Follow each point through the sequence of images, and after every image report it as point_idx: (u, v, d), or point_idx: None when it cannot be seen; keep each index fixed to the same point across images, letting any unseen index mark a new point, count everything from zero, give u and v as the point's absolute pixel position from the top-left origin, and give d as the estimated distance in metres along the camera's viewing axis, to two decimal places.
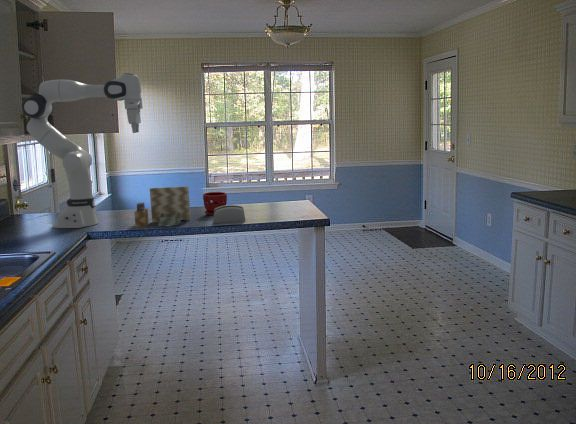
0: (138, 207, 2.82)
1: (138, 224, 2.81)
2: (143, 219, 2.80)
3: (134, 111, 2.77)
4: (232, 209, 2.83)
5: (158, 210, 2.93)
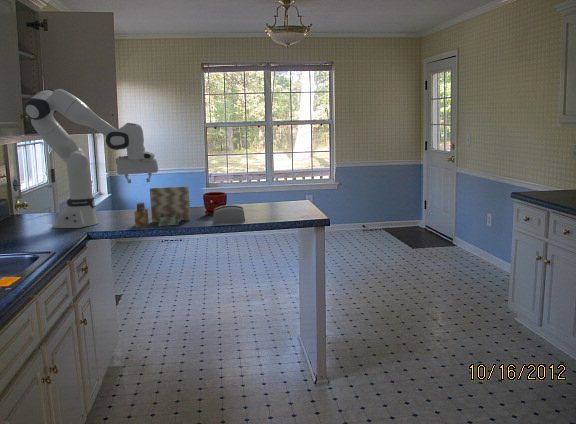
0: (138, 207, 2.82)
1: (138, 224, 2.81)
2: (143, 219, 2.80)
3: None
4: (232, 209, 2.83)
5: (158, 210, 2.93)
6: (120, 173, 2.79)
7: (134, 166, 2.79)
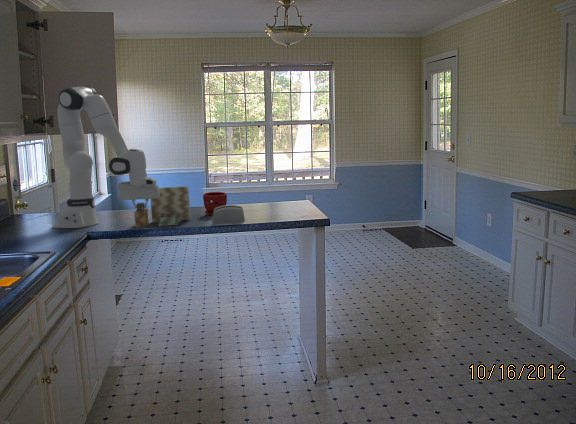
0: (138, 207, 2.82)
1: (138, 224, 2.81)
2: (143, 219, 2.80)
3: (158, 186, 2.84)
4: (231, 209, 2.83)
5: (158, 210, 2.93)
6: (122, 198, 2.81)
7: (136, 191, 2.81)
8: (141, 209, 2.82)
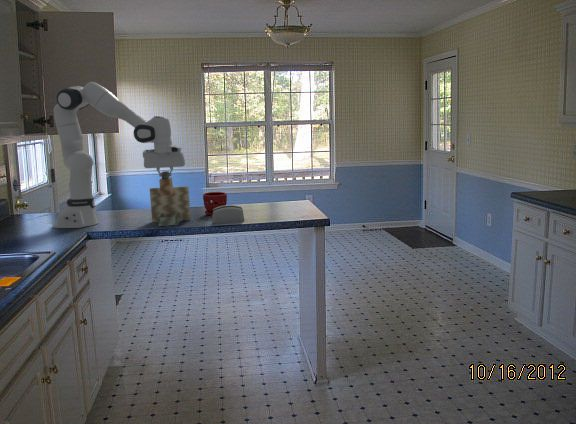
0: (163, 175, 2.78)
1: (163, 193, 2.77)
2: (168, 187, 2.77)
3: None
4: (231, 209, 2.82)
5: (158, 210, 2.93)
6: (147, 166, 2.77)
7: (161, 159, 2.78)
8: (166, 177, 2.78)
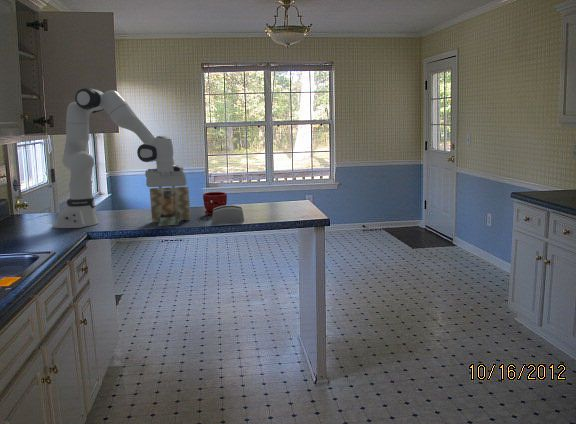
0: (165, 194, 2.83)
1: (165, 211, 2.82)
2: (170, 206, 2.81)
3: (184, 173, 2.85)
4: (230, 209, 2.82)
5: (158, 210, 2.93)
6: (149, 185, 2.82)
7: (163, 178, 2.82)
8: (168, 196, 2.83)
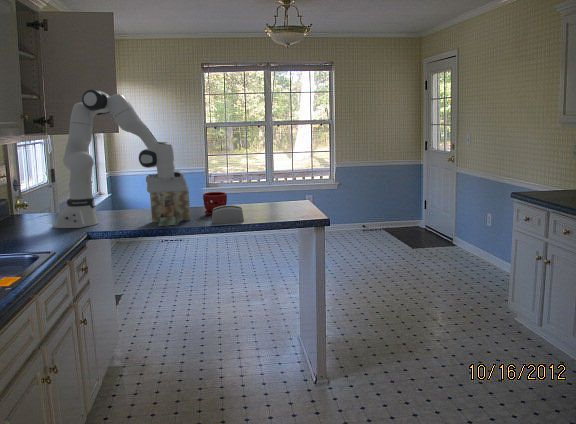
0: (166, 202, 2.84)
1: None
2: (171, 214, 2.82)
3: (185, 179, 2.86)
4: (230, 209, 2.82)
5: (158, 210, 2.93)
6: (150, 191, 2.83)
7: (164, 184, 2.83)
8: (169, 204, 2.84)
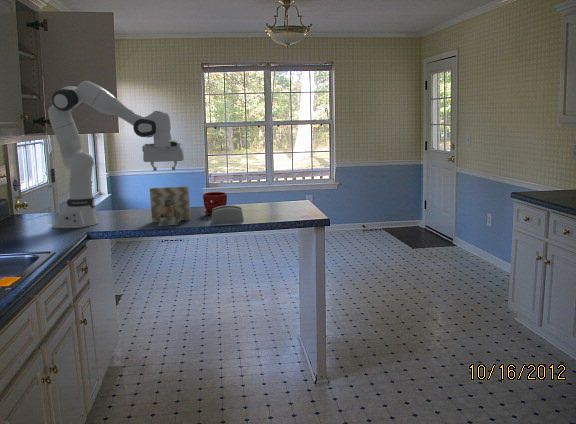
0: (166, 202, 2.84)
1: None
2: (171, 214, 2.82)
3: None
4: (230, 209, 2.82)
5: (158, 210, 2.93)
6: (146, 160, 2.82)
7: (160, 153, 2.82)
8: (169, 204, 2.84)
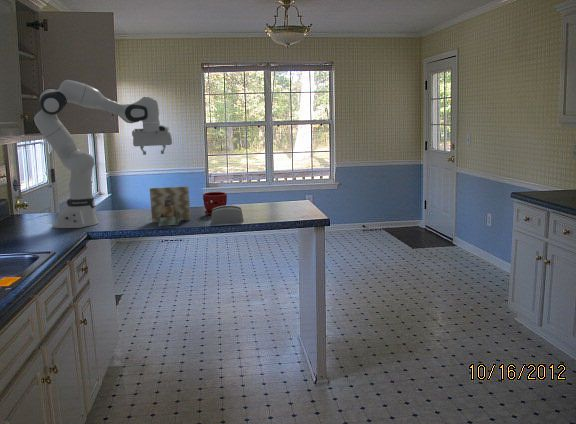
0: (166, 202, 2.84)
1: None
2: (171, 214, 2.82)
3: None
4: (229, 209, 2.82)
5: (158, 210, 2.93)
6: (136, 145, 2.94)
7: (149, 138, 2.94)
8: (169, 204, 2.84)
